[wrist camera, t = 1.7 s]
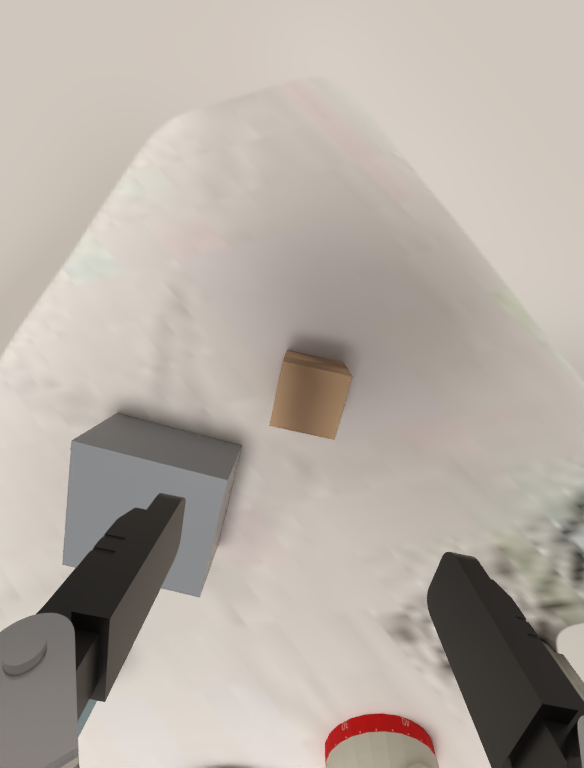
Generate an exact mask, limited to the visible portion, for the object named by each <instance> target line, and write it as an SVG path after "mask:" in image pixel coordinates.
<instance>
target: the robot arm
mask: <svg viewBox="0 0 584 768" xmlns="http://www.w3.org/2000/svg"><path fill="white" fill-rule="evenodd" d="M185 503H186V499H185V498H184V497H179V496H174V495H169V494H164V493H159V494H158V495H157V496H156V498H155V499H154V500H153V502H152V503H151V504H150V506H149V507H148V508H147V510H146V509H141V508H136V507H135V508H134V509H132V510H130V511H129V512H127V513H126V514H124V515H122V516H121V517H119V518H118V519H117V520H116V521H115V522H114V523H113V525H112V526H111V527H110V528H109V529H108V530H107V532H106V533H105V535H104V537H102V538H101V539H100V540H99V541H98V542H97V544H96V545H95V546H94V548H93V550H92V551H90V552H89V553H88V554H87V555H86V557H85V558H84V559H83V560H82V561H81V562H80V564H79V565H78V566H77V567H76V568H75V570H74V571H73V572H72V573H71V574H70V576H69V577H68V578H67V579H66V580H65V581H64V583H63V584H62V585H61V586H60V587H59V589H58V590H57V591H56V592H55V593H54V595H53V596H52V597H51V598H50V599H49V600H48V602H47V603H46V604H45V605H44V606H43V607H42V608H41V610H40V611H39V612H38V613H36V614H35V615H32V616H29V617H26V618H24V619H22V620H19V621H17V622H15V623H14V624H12V625H10V626H9V627H7V628H5V629H4V630H2V631H1V632H0V768H79V756H78V724H77V722H78V720H79V718H80V716H81V714H82V712H83V710H84V709H85V707H86V705H87V703H88V701H89V699H92V700H97V701H103V702H105V701H106V699H107V696H108V694H109V692H110V690H111V688H112V686H113V684H114V682H115V680H116V678H117V676H118V674H119V672H120V670H121V668H122V666H123V664H124V662H125V660H126V658H127V656H128V654H129V652H130V650H131V648H132V646H133V643H134V641H135V639H136V637H137V635H138V633H139V631H140V629H141V627H142V625H143V623H144V621H145V619H146V617H147V615H148V613H149V611H150V609H151V607H152V605H153V603H154V601H155V599H156V597H157V595H158V593H159V590H160V588H161V586H162V584H163V582H164V580H165V578H166V576H167V574H168V572H169V570H170V568H171V566H172V564H173V562H174V560H175V557H176V554H177V551H178V548H179V544H180V540H181V533H182V526H183V518H184V511H185ZM427 604H428V610H429V613H430V616H431V619H432V621H433V623H434V626H435V628H436V631H437V633H438V636H439V638H440V641H441V643H442V646H443V648H444V651H445V653H446V656H447V658H448V661H449V663H450V666H451V668H452V671H453V673H454V675H455V678H456V680H457V683H458V685H459V688H460V690H461V693H462V695H463V698H464V700H465V703H466V705H467V708H468V710H469V713H470V715H471V718H472V720H473V723H474V725H475V727H476V730H477V732H478V735H479V737H480V740H481V742H482V745H483V747H484V750H485V752H486V755H487V757H488V760H489V762H490V765H491V767H492V768H584V683H583V681H582V680H581V679H580V677H579V676H578V674H577V673H576V672H575V670H574V669H573V668H572V666H571V665H570V663H569V662H568V661H567V659H566V658H565V657H564V655H563V654H558V653H555V652H554V651H553V650H552V649H551V648H550V646H549V645H547V644H546V643H544V642H543V641H541V640H539V639H538V635H537V634H536V632H535V631H534V629H533V628H532V626H531V625H530V624H529V622H526V618H525V616H524V615H523V614H522V612H521V611H520V609H519V608H518V606H517V605H516V604H515V602H514V601H513V599H512V598H511V597H510V596H509V595H508V594H507V593H506V592H505V591H504V590H503V589H502V588H501V587H500V586H499V585H498V584H497V583H496V582H495V581H494V580H491V579H490V578H489V576H488V575H487V573H486V572H485V570H484V569H483V567H482V566H481V564H480V563H479V561H478V560H477V559H476V558H474V557H472V556H467V555H462V554H457V553H452V552H446V553H445V554H444V555H443V557H442V559H441V561H440V563H439V566H438V568H437V570H436V573H435V575H434V577H433V580H432V582H431V584H430V586H429V589H428V594H427Z"/></svg>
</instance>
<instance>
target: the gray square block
mask: <svg viewBox="0 0 584 768" xmlns="http://www.w3.org/2000/svg"><path fill="white" fill-rule="evenodd" d="M241 448H242V446H241V445H237V444H233V443H230V442H226V441H222V440H218V439H214V438H210V437H206V436H203V435H199V434H195V433H191V432H187V431H183V430H179V429H175V428H172V427H168V426H164V425H160V424H156V423H152V422H148V421H144V420H141V419H137V418H133V417H129V416H125V415H121V414H115V415H113V416H112V417H110V418H108V419H107V420H105V421H103V422H102V423H100V424H98V425H97V426H95V427H93V428H92V429H90V430H88V431H87V432H85V433H83V434H82V435H80V436H79V437H77V438H75V439H74V440H72V442H71V455H70V469H69V482H68V496H67V510H66V523H65V537H64V550H63V564H62V565H67V566H71V567H75V568H76V567H77V566H78V565H79V564H80V562H81V561H82V560H83V559H84V558H85V557H86V555H87V554H88V553H89V552H90V551H92V550H93V548H94V546H95V545H96V544H97V542H98V541H99V540H100V539H101V538H102V537H104V535H105V533H106V532H107V530H108V529H109V528H110V527H111V526H112V525H113V523H114V522H115V521H116V520H117V519H118V518H119V517H121V516H122V515H124V514H126V513H127V512H129V511H130V510H132V509H134V508H135V507H136V508H141V509H146V510H147V508H148V507H149V506H150V504H151V503H152V502H153V500H154V499H155V498H156V496H157V495H158V494H159V493H164V494H169V495H174V496H179V497H184V498H185V499H186V503H185V511H184V518H183V526H182V533H181V540H180V544H179V548H178V551H177V554H176V557H175V560H174V562H173V564H172V566H171V568H170V570H169V572H168V574H167V576H166V578H165V580H164V582H163V584H162V586H161V588H163V589H167V590H171V591H175V592H179V593H183V594H188V595H192V596H196V597H200V595H201V592H202V590H203V587H204V584H205V581H206V578H207V575H208V572H209V570H210V567H211V564H212V561H213V558H214V555H215V552H216V550H217V547H218V543H219V539H220V535H221V531H222V526H223V522H224V518H225V514H226V510H227V506H228V502H229V498H230V494H231V490H232V485H233V481H234V477H235V473H236V469H237V465H238V461H239V457H240V453H241Z"/></svg>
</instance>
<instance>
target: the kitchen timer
mask: <svg viewBox="0 0 584 768" xmlns="http://www.w3.org/2000/svg"><path fill="white" fill-rule="evenodd" d="M325 760H326V768H439V766H438V762H437V759H436V755H435V752H434V748H433V745H432V742H431V738H430V736H429V735H428V734H427V733H426V731H425V730H424V729H423V728H422V727H420V726H419V725H417V724H416V723H414V722H413V721H411V720H408V719H405V718H402V717H399V716H395V715H387V714H369V715H362V716H359V717H355V718H351V719H349V720H347V721H345V722H343V723H341V724H340V725H338V726H337V727H336V728H335V729H334V730H333V731H332V732H331V733H330V734H329V736H328V738H327V740H326V742H325Z"/></svg>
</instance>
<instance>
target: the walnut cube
mask: <svg viewBox="0 0 584 768" xmlns="http://www.w3.org/2000/svg"><path fill="white" fill-rule="evenodd" d="M351 380H352V375H351V374H350V372H349V371H348V369H347V368H346V366H345V364H344V363H342V362H337V361H333V360H328V359H324V358H319V357H315V356H310V355H306V354H301V353H297V352H292V351H288V350H287V351H286V354H285V357H284V360H283V364H282V369H281V374H280V378H279V383H278V388H277V392H276V397H275V402H274V406H273V411H272V416H271V420H270V425H269V426H273V427H278V428H283V429H287V430H292V431H296V432H301V433H306V434H310V435H315V436H320V437H324V438H329V439H333V440H335V437H336V433H337V430H338V426H339V422H340V419H341V415H342V412H343V408H344V405H345V401H346V397H347V394H348V390H349V387H350V383H351Z"/></svg>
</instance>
